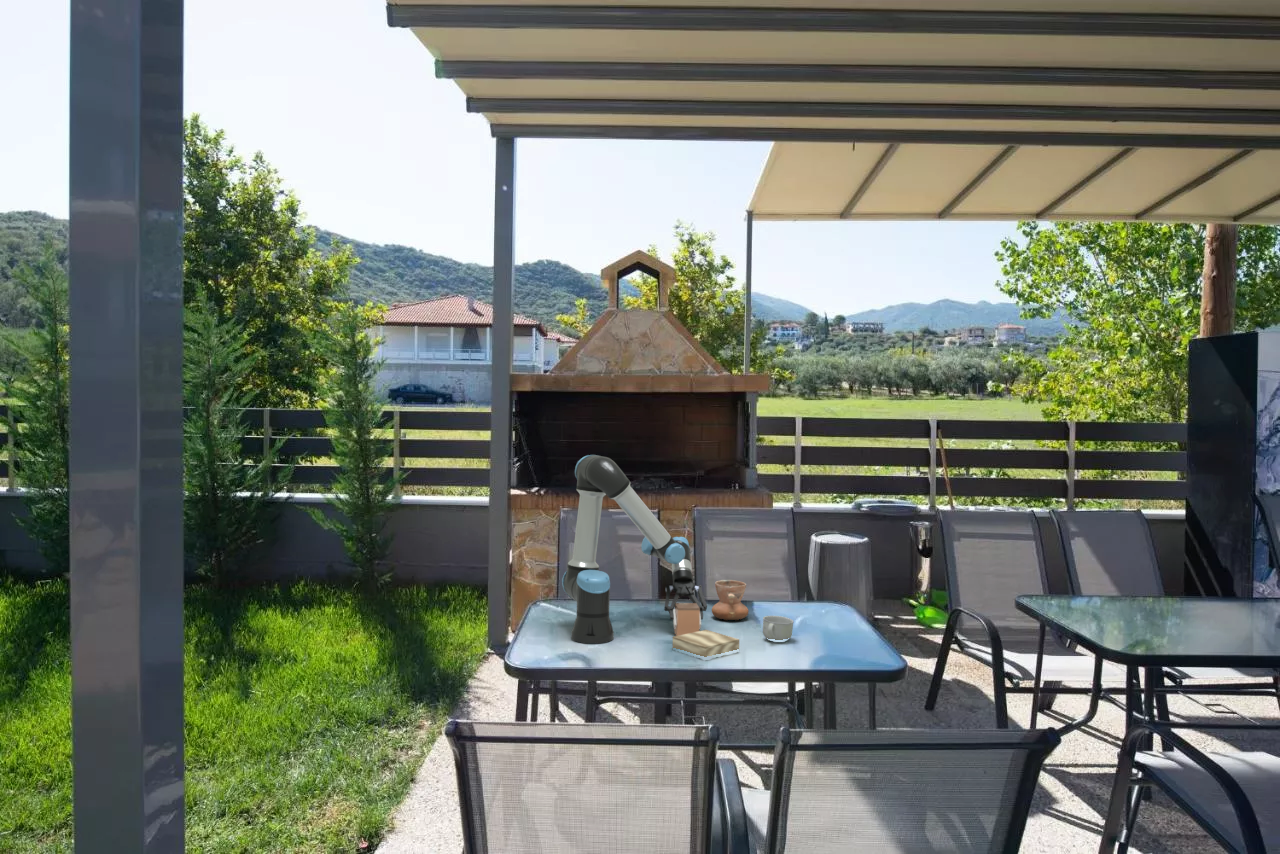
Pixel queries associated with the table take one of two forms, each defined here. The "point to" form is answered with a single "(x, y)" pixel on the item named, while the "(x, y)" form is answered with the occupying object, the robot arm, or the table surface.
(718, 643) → the birch box
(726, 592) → the ceramic jug
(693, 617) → the pink square box
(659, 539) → the robot arm
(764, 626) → the teacup
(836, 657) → the table surface
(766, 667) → the table surface
